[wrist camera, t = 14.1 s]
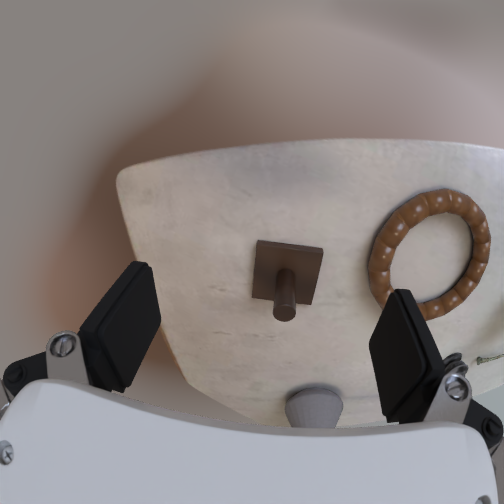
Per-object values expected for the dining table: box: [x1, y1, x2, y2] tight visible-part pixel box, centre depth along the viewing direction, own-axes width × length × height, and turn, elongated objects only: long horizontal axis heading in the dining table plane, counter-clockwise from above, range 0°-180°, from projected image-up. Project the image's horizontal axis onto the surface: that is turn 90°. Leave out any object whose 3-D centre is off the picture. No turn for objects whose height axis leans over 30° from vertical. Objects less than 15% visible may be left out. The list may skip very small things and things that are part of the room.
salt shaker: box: [443, 353, 472, 399], centre depth 36 cm, size 6×6×12 cm
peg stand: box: [252, 240, 323, 322], centre depth 32 cm, size 8×8×8 cm
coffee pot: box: [285, 388, 343, 428], centre depth 41 cm, size 21×12×15 cm, turn 94°
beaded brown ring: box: [368, 189, 491, 321], centre depth 30 cm, size 20×20×3 cm
